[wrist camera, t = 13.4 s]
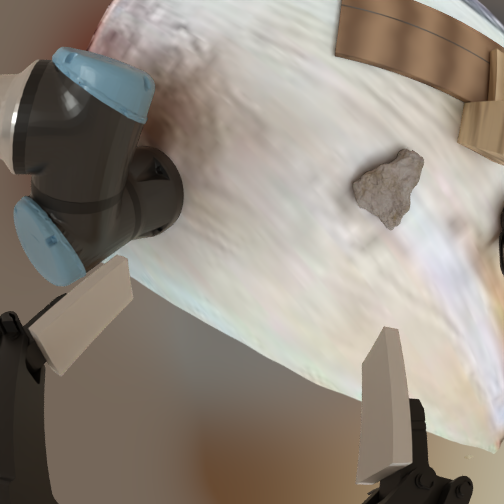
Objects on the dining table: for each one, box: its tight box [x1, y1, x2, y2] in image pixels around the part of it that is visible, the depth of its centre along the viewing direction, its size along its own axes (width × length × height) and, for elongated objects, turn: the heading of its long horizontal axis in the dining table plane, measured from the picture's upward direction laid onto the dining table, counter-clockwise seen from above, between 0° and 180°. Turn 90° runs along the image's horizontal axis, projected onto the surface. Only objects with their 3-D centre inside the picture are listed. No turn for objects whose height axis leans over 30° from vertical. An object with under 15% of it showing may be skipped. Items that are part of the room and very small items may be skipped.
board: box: [335, 0, 504, 103], centre depth 20 cm, size 28×12×2 cm, turn 82°
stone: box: [353, 149, 424, 230], centre depth 29 cm, size 10×8×6 cm
